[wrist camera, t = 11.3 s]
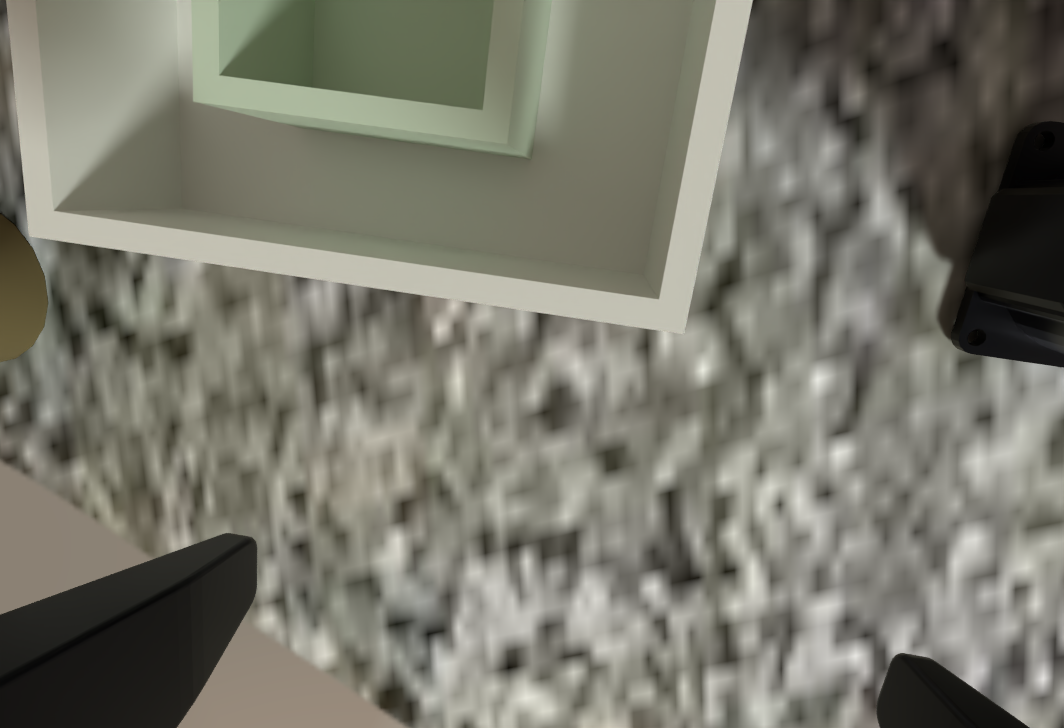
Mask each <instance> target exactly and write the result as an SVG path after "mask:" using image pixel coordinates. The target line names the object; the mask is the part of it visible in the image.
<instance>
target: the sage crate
mask: <svg viewBox="0 0 1064 728" xmlns="http://www.w3.org/2000/svg"><path fill="white" fill-rule="evenodd" d="M551 5H552V0H191V11H192V64H193V102H197V103H201V104H205V105H209V106H213V107H217V108H222V109H226V110H230V111H234V112H238V113H242V114H246V115H250V116H254V117H258V118H262V119H266V120H270V121H274V122H278V123H282V124H287V125H291V126H295V127H299V128H304V129H312V130H319V131H326V132H334V133H341V134H348V135H355V136H363V137H370V138H377V139H385V140H392V141H399V142H407V143H414V144H421V145H429V146H436V147H443V148H450V149H458V150H465V151H472V152H480V153H487V154H494V155H502V156H509V157H516V158H523V159H531V160H532V153H533V145H534V138H535V130H536V122H537V114H538V106H539V99H540V91H541V83H542V75H543V67H544V59H545V52H546V44H547V36H548V28H549V20H550V12H551Z"/></svg>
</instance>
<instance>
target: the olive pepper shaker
mask: <svg viewBox="0 0 1064 728" xmlns="http://www.w3.org/2000/svg"><path fill="white" fill-rule="evenodd" d="M47 307H48V298H47V291H46V283H45V276H44V274H43V271H42V269H41V267H40V264H39V262H38V260H37V257H36V255H35V253H34V250H33V249H32V247H31V246H30V245H29V243H28V242H27V241H26V239H25V238H24V237H23V235H22V234H21V233H20V231H19V230H18V229H17V228H16V226H15V225H14V224H13V223H11V222H10V221H9V220H8V219H6V218H5V217H4V216H3V215H1V214H0V362H3V361H7V360H11V359H15V358H17V357H18V356H20V355H21V354H22V353H24V352H25V351H26V350H28V349H29V348H30V347H32V346H33V345H34V343H35V341H36V340H37V338H38V336H39V334H40V333H41V331H42V329H43V328H44V324H45V318H46V313H47Z"/></svg>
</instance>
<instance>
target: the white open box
mask: <svg viewBox="0 0 1064 728" xmlns="http://www.w3.org/2000/svg"><path fill="white" fill-rule="evenodd" d="M752 2H753V0H552V5H551V12H550V20H549V28H548V36H547V44H546V52H545V59H544V67H543V75H542V83H541V91H540V99H539V106H538V114H537V122H536V130H535V138H534V145H533V153H532V160H531V159H523V158H516V157H509V156H502V155H494V154H487V153H480V152H472V151H465V150H458V149H450V148H443V147H436V146H429V145H421V144H414V143H407V142H399V141H392V140H385V139H377V138H370V137H363V136H355V135H348V134H341V133H334V132H326V131H319V130H312V129H304V128H299V127H295V126H291V125H287V124H282V123H278V122H274V121H270V120H266V119H262V118H258V117H254V116H250V115H246V114H242V113H238V112H234V111H230V110H226V109H222V108H217V107H213V106H209V105H205V104H201V103H197V102H193V64H192V11H191V0H6V3H7V13H8V23H9V34H10V44H11V54H12V64H13V75H14V85H15V95H16V106H17V116H18V126H19V137H20V147H21V157H22V168H23V178H24V188H25V198H26V209H27V219H28V229H29V236H30V237H37V238H44V239H50V240H57V241H64V242H70V243H77V244H84V245H91V246H97V247H104V248H111V249H117V250H124V251H131V252H137V253H144V254H151V255H157V256H164V257H171V258H178V259H184V260H191V261H198V262H204V263H211V264H218V265H224V266H231V267H238V268H244V269H251V270H258V271H265V272H271V273H278V274H285V275H291V276H298V277H305V278H311V279H318V280H325V281H331V282H338V283H345V284H351V285H358V286H365V287H372V288H378V289H385V290H392V291H398V292H405V293H412V294H418V295H425V296H432V297H438V298H445V299H452V300H459V301H465V302H472V303H479V304H485V305H492V306H499V307H505V308H512V309H519V310H525V311H532V312H539V313H545V314H552V315H559V316H566V317H572V318H579V319H586V320H592V321H599V322H606V323H612V324H619V325H626V326H632V327H639V328H646V329H653V330H659V331H666V332H673V333H679V334H684V332H685V327H686V322H687V317H688V313H689V308H690V303H691V298H692V293H693V288H694V283H695V279H696V274H697V269H698V264H699V259H700V254H701V249H702V245H703V240H704V235H705V230H706V225H707V220H708V215H709V211H710V206H711V201H712V196H713V191H714V186H715V181H716V177H717V172H718V167H719V162H720V157H721V152H722V147H723V143H724V138H725V133H726V128H727V123H728V118H729V113H730V109H731V104H732V99H733V94H734V89H735V84H736V79H737V75H738V70H739V65H740V60H741V55H742V50H743V45H744V41H745V36H746V31H747V26H748V21H749V16H750V11H751V7H752Z"/></svg>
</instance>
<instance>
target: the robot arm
mask: <svg viewBox="0 0 1064 728" xmlns="http://www.w3.org/2000/svg"><path fill="white" fill-rule="evenodd" d="M1038 134H1042V135H1043V137H1044V144H1043V146H1042V147H1041V149H1039V150H1037V149H1036V148H1035V146H1034V140H1035V138H1036V136H1037V135H1038ZM965 282H966V284H967V287H966V290H965V293H964V296H963V300H962V303H961V306H960V309H959V312H958V315H957V318H956V321H955V324H954V327H953V330H952V334H951V340H952V343H953V345H954V346H955V347H956V348H957V349H960V350H962V351H965V352H967V353H970V354H976V355H983V356H989V357H996V358H1003V359H1010V360H1017V361H1023V362H1030V363H1037V364H1044V365H1051V366H1057V367H1064V123H1061V122H1053V121H1049V122H1040V123H1034V124H1031V125H1029V126H1027V127H1025V128H1024V129H1023V130H1022V131H1021V132H1020V133H1019V134H1018V136H1017V138H1016V140H1015V143H1014V146H1013V149H1012V152H1011V155H1010V158H1009V161H1008V164H1007V167H1006V170H1005V173H1004V176H1003V179H1002V182H1001V185H1000V188H999V191H998V193H996V194H995V195H994V196H993V197H992V198H991V201H990V204H989V207H988V210H987V213H986V216H985V219H984V222H983V225H982V228H981V231H980V234H979V237H978V240H977V244H976V247H975V250H974V253H973V256H972V259H971V262H970V265H969V268H968V271H967V274H966V277H965ZM975 329H977V331H978V336H977V338H976V339H975V340H974V341H973V342H971V343H969V342H968V335H969V334H970V332H972V331H973V330H975ZM256 589H257V544H256V541H255V540H254V539H253V538H252V537H248V536H243V535H237V534H231V533H225V534H222V535H219V536H216V537H214V538H211V539H208V540H205V541H202V542H200V543H197V544H194V545H191V546H189V547H186V548H183V549H180V550H178V551H175V552H172V553H169V554H167V555H164V556H161V557H158V558H156V559H153V560H150V561H147V562H144V563H142V564H140V565H136V566H133V567H131V568H128V569H125V570H122V571H120V572H117V573H114V574H111V575H109V576H106V577H103V578H101V579H98V580H95V581H92V582H89V583H87V584H84V585H81V586H78V587H75V588H73V589H70V590H68V591H64V592H62V593H59V594H56V595H53V596H51V597H48V598H45V599H42V600H40V601H37V602H34V603H31V604H29V605H26V606H23V607H20V608H17V609H15V610H12V611H9V612H7V613H4V614H1V615H0V728H177V727H178V725H179V724H180V722H181V721H182V720H183V718H184V716H185V715H186V713H187V712H188V711H189V709H190V708H191V706H192V705H193V703H194V702H195V700H196V698H197V697H198V695H199V694H200V692H201V690H202V689H203V687H204V686H205V684H206V682H207V680H208V679H209V677H210V675H211V674H212V672H213V670H214V668H215V667H216V665H217V663H218V661H219V660H220V658H221V656H222V655H223V653H224V651H225V649H226V647H227V646H228V644H229V642H230V641H231V639H232V637H233V636H234V634H235V632H236V630H237V628H238V627H239V625H240V623H241V622H242V620H243V618H244V617H245V615H246V613H247V611H248V610H249V608H250V606H251V604H252V602H253V600H254V597H255V594H256ZM877 719H878V723H879V726H880V728H1029V727H1028V726H1027V725H1025V724H1024V723H1022V722H1021V721H1020V720H1018V719H1017V718H1015V717H1014V716H1012V715H1011V714H1010V713H1008V712H1007V711H1005V710H1004V709H1002V708H1001V707H1000V706H998V705H997V704H995V703H994V702H993V701H991V700H990V699H988V698H987V697H985V696H984V695H983V694H981V693H980V692H978V691H977V690H976V689H974V688H973V687H971V686H970V685H968V684H967V683H966V682H964V681H963V680H961V679H960V678H958V677H957V676H956V675H954V674H953V673H951V672H950V671H949V670H947V669H946V668H944V667H943V666H941V665H940V664H939V663H937V662H936V661H934V660H933V659H930V658H927V657H922V656H916V655H911V654H905V653H900V654H897V655H896V656H895V657H894V658H893V659H892V661H891V663H890V666H889V669H888V672H887V675H886V677H885V680H884V683H883V686H882V689H881V691H880V694H879V697H878V701H877Z"/></svg>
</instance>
